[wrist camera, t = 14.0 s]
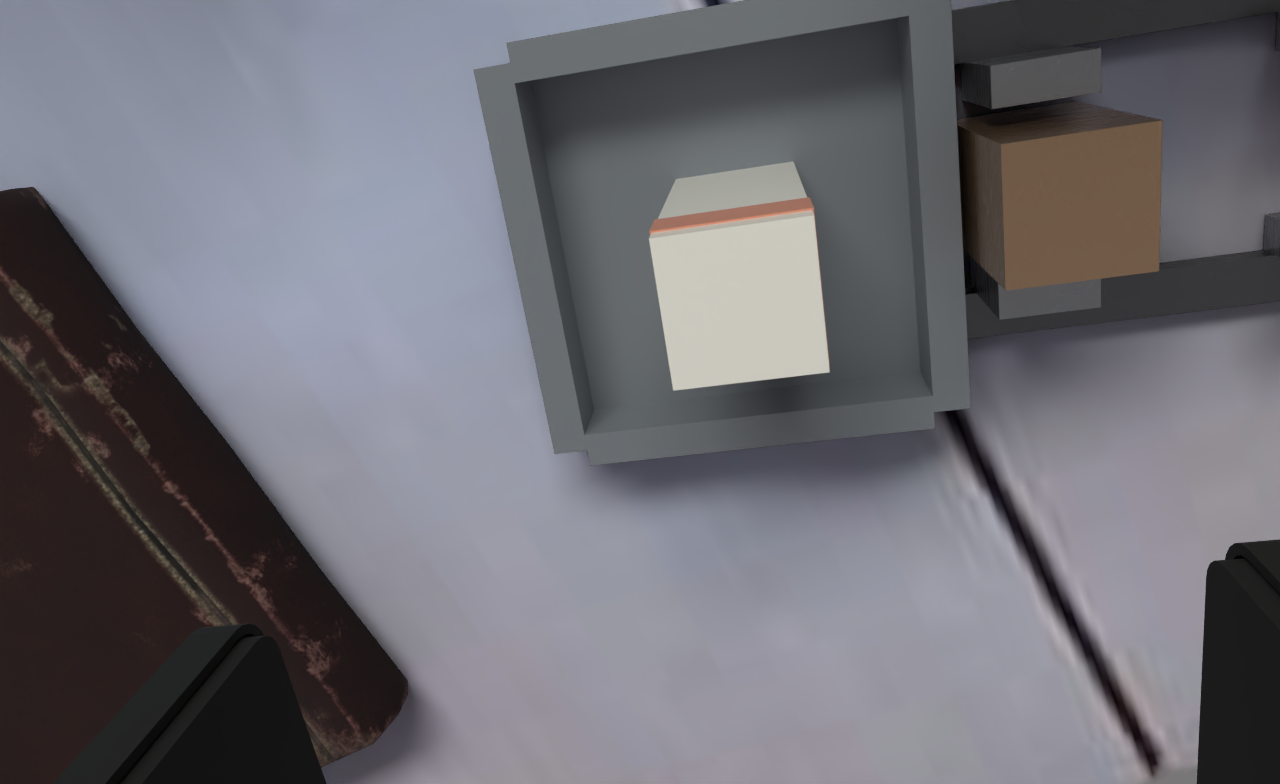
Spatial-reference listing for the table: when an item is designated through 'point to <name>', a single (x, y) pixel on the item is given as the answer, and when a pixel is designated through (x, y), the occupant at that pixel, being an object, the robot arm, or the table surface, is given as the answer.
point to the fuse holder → (1077, 174)
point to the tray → (719, 142)
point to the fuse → (739, 278)
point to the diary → (136, 527)
